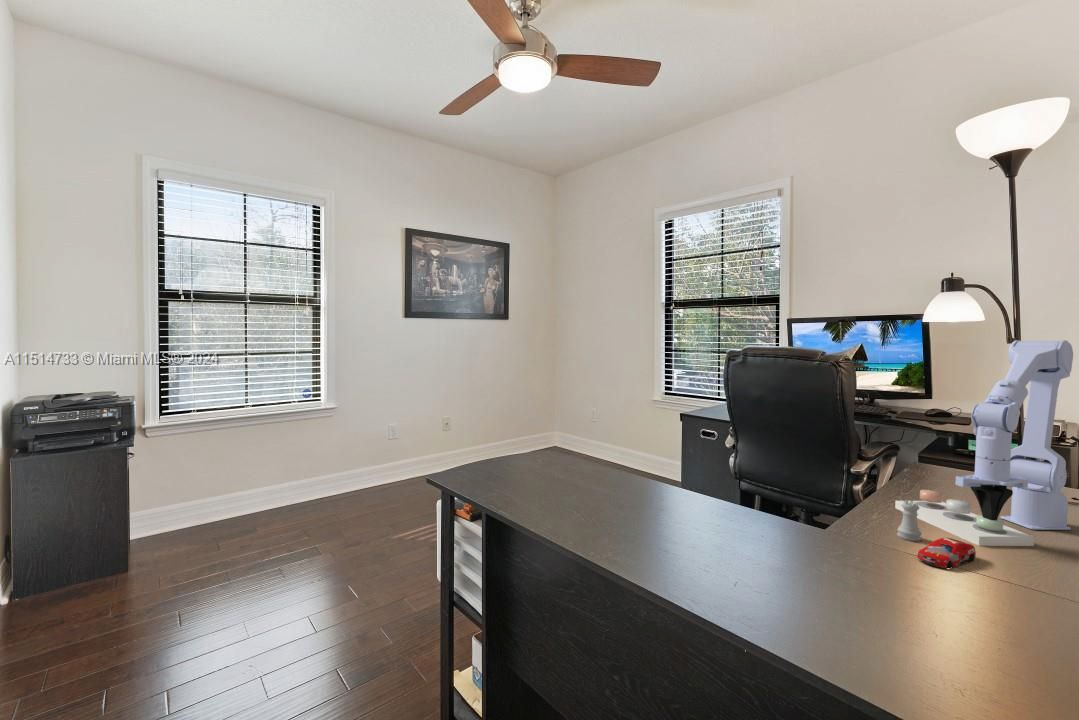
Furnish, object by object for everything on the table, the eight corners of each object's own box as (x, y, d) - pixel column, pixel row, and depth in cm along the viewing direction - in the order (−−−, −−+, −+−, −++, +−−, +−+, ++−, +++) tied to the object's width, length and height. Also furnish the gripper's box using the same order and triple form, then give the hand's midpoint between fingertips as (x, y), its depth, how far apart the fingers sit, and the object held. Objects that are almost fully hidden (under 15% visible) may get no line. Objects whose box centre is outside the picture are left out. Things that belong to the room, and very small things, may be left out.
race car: (943, 573, 93) (944, 552, 93) (911, 561, 98) (912, 541, 98) (981, 561, 98) (982, 541, 98) (950, 550, 103) (950, 531, 103)
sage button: (989, 524, 112) (990, 515, 112) (1008, 531, 107) (1009, 522, 107) (970, 523, 112) (971, 515, 112) (988, 531, 107) (989, 522, 107)
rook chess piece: (926, 543, 106) (927, 506, 106) (902, 541, 107) (904, 504, 107) (915, 535, 111) (916, 499, 111) (892, 533, 112) (894, 498, 111)
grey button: (959, 507, 120) (959, 499, 120) (975, 513, 115) (976, 505, 115) (941, 507, 120) (941, 499, 119) (957, 513, 115) (957, 505, 115)
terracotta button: (932, 497, 128) (932, 489, 128) (946, 502, 123) (946, 494, 123) (915, 497, 128) (915, 489, 127) (929, 502, 123) (929, 494, 123)
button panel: (940, 508, 130) (940, 500, 130) (1033, 546, 106) (1034, 535, 106) (895, 508, 129) (895, 499, 129) (978, 545, 105) (979, 535, 105)
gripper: (976, 461, 105) (973, 525, 105) (1043, 462, 105) (1040, 526, 106) (948, 454, 112) (945, 514, 112) (1011, 455, 112) (1008, 514, 113)
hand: (989, 519), depth 109 cm, fingers closed, pressing on sage button
